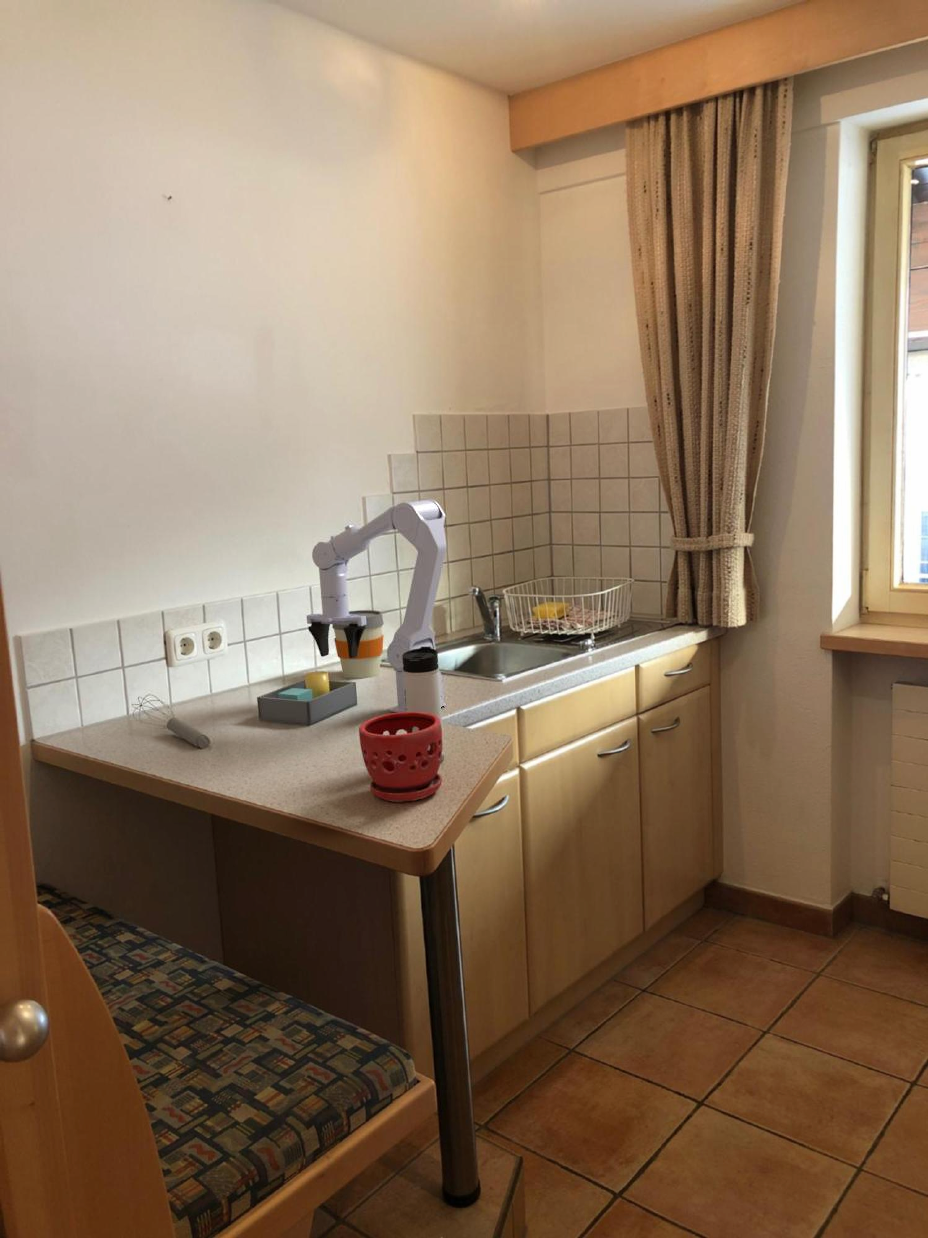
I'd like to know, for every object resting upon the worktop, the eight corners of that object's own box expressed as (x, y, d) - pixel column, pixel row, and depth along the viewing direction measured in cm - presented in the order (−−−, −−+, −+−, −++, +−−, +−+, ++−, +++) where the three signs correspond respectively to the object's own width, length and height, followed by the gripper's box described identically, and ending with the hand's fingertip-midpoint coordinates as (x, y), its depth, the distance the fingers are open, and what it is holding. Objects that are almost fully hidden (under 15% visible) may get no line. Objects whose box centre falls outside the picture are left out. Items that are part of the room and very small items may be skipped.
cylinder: (334, 703, 222) (332, 671, 221) (323, 708, 218) (320, 677, 216) (314, 701, 224) (312, 670, 223) (303, 707, 220) (300, 676, 218)
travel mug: (449, 755, 183) (443, 646, 179) (436, 767, 176) (430, 654, 173) (417, 754, 185) (410, 645, 181) (403, 765, 178) (396, 653, 175)
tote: (308, 700, 228) (306, 678, 227) (357, 704, 222) (355, 682, 221) (259, 720, 213) (257, 697, 213) (310, 725, 207) (308, 701, 206)
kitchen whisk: (195, 755, 192) (192, 723, 191) (128, 724, 218) (125, 695, 217) (225, 748, 196) (222, 716, 195) (155, 718, 222) (152, 690, 221)
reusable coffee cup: (359, 666, 260) (355, 608, 258) (397, 671, 253) (393, 611, 250) (325, 677, 250) (320, 617, 248) (363, 682, 243) (359, 620, 240)
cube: (313, 712, 215) (311, 689, 214) (299, 718, 211) (297, 695, 210) (294, 710, 217) (292, 688, 217) (279, 716, 213) (277, 693, 212)
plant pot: (381, 778, 172) (376, 709, 170) (455, 782, 169) (451, 711, 166) (351, 805, 160) (345, 732, 158) (430, 810, 156) (425, 734, 154)
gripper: (296, 597, 223) (301, 658, 225) (351, 599, 216) (356, 662, 218) (315, 592, 229) (320, 652, 231) (369, 594, 222) (374, 655, 224)
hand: (338, 656), depth 225 cm, fingers open, 7 cm apart
